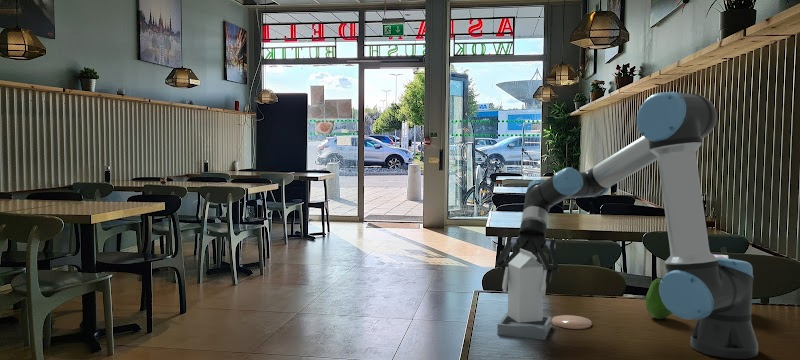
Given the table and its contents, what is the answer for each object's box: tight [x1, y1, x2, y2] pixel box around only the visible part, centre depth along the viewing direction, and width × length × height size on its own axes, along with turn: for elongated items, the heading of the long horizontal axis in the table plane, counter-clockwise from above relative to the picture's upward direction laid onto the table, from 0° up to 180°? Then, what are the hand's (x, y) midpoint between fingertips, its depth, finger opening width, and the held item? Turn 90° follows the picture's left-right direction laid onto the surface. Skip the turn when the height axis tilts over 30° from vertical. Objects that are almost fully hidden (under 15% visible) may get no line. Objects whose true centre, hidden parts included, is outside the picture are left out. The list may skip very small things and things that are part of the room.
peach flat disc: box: [551, 314, 593, 330], centre depth 182 cm, size 11×11×1 cm
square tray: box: [496, 312, 553, 341], centre depth 175 cm, size 13×13×3 cm
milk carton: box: [507, 249, 544, 323], centre depth 174 cm, size 7×7×19 cm
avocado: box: [645, 278, 673, 320], centre depth 186 cm, size 8×8×12 cm
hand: (523, 291), depth 171 cm, fingers closed on milk carton, 10 cm apart
